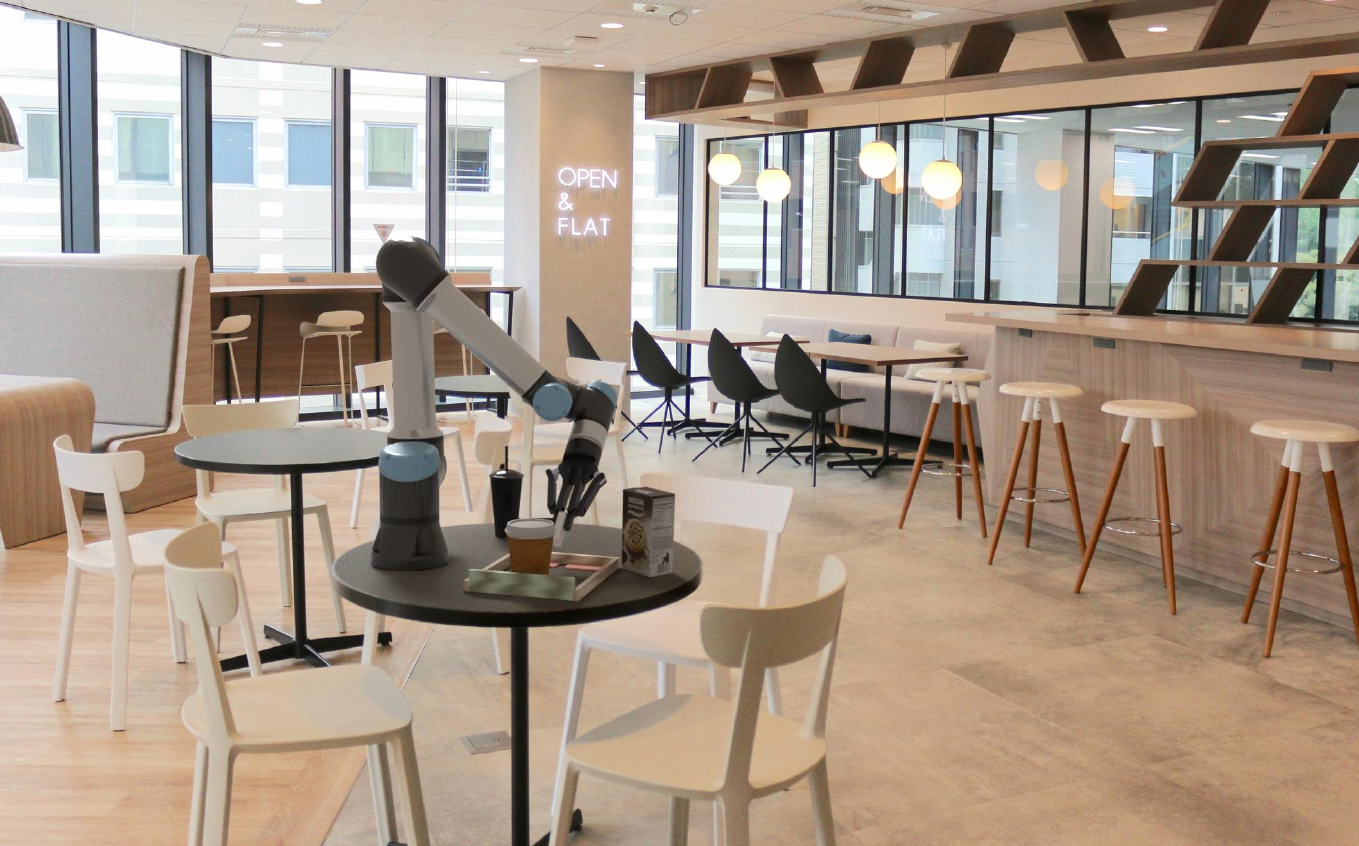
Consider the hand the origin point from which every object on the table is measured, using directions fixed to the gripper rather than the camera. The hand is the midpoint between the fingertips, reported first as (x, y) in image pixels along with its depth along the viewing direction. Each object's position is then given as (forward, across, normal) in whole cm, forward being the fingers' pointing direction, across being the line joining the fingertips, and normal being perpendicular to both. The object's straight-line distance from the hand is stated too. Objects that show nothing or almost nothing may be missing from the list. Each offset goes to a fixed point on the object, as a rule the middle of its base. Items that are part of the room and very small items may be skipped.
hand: (556, 543), depth 231 cm
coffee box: (0, -17, -9) cm, 19 cm away
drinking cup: (-14, +22, -23) cm, 35 cm away
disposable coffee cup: (+13, 0, +5) cm, 14 cm away
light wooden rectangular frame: (+8, 0, 0) cm, 8 cm away
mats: (+1, 0, -7) cm, 7 cm away
